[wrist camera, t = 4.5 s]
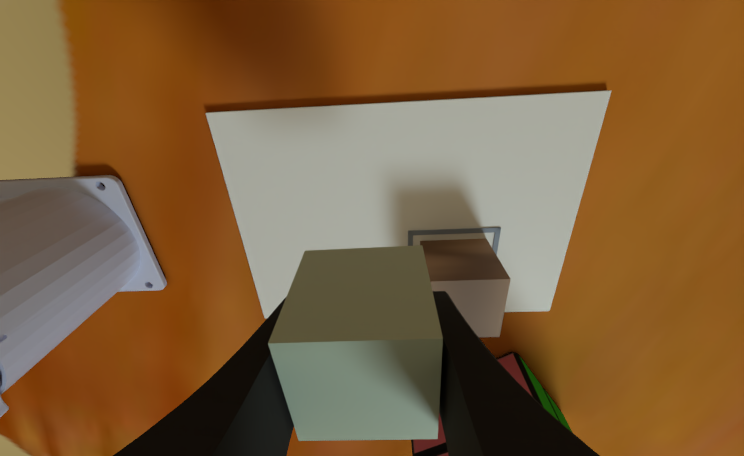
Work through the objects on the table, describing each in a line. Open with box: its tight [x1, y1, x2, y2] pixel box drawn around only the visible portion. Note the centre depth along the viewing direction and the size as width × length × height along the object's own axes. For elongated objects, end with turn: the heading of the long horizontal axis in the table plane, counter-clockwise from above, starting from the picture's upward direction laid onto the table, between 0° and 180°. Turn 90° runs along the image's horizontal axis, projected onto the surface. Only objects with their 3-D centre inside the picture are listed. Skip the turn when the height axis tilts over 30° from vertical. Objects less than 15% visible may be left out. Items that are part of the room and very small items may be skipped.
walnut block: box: [420, 239, 510, 337], centre depth 18 cm, size 4×4×4 cm
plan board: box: [206, 90, 611, 318], centre depth 19 cm, size 20×14×1 cm
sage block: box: [268, 245, 443, 441], centre depth 10 cm, size 4×4×4 cm
